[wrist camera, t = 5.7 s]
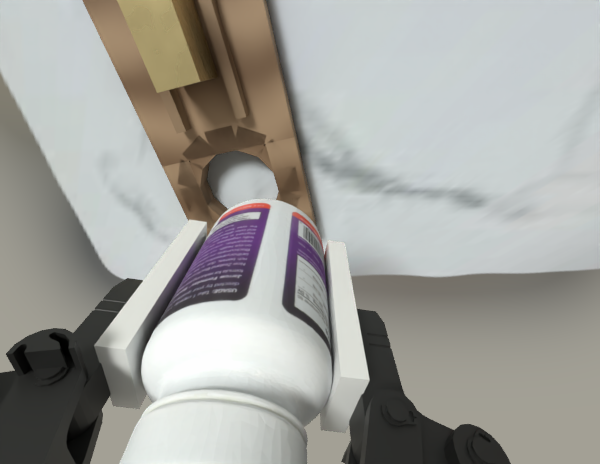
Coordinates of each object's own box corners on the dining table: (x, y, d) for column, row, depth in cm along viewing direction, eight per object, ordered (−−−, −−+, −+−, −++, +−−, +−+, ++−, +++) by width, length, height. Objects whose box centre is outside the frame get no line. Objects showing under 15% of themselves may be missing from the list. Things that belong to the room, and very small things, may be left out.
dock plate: (96, -6, 21) (64, -15, 18) (252, -58, 19) (243, -76, 17) (209, 242, 32) (200, 259, 29) (316, 223, 30) (316, 240, 28)
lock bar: (142, -13, 19) (105, -28, 16) (184, -27, 19) (155, -45, 15) (181, 86, 22) (157, 92, 19) (218, 77, 22) (200, 81, 18)
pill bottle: (206, 274, 15) (79, 535, 7) (220, 181, 13) (41, 422, 4) (305, 297, 16) (300, 564, 7) (339, 213, 13) (388, 479, 5)
